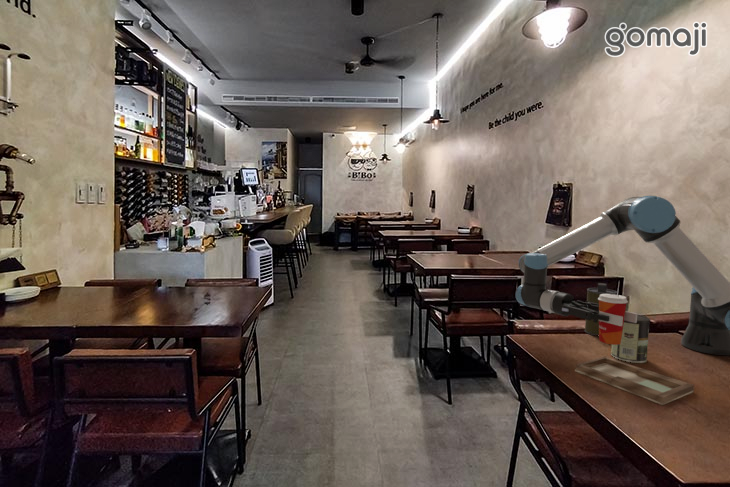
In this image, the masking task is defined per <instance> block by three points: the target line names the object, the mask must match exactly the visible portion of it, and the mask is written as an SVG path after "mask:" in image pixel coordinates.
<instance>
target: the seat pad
mask: <svg viewBox="0 0 730 487" xmlns="http://www.w3.org/2000/svg"><path fill="white" fill-rule="evenodd" d="M638 384H641V385H644V386H646V387H649V388H652V389H655V390H657V391H660V392H663V393H664V392H666V391H669V390H671V388H668V387H665V386H662V385H660V384H657V383H654V382H651V381H648V380H645V381H643V382H640V383H638Z"/></svg>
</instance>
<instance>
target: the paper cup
mask: <svg viewBox="0 0 730 487" xmlns="http://www.w3.org/2000/svg"><path fill="white" fill-rule="evenodd" d="M627 299H628V298H627V296H624V295H620V294H616V295H615V294H600V296H599V298H598V300H599V312H600V311H601V312H605V313H610V314H614V315H618V316H622V317H623V325H624V317H625V311H627V308H626V307H627V304H628V302H629V301H628V300H627ZM623 325H622V326H618V325H614V324H610V323H606V322H602V321H599V336H598V339H599V342H601V343H603V344H607V345H611V346H612V345H618V344H620V343H621V338H622V332H623Z"/></svg>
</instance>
